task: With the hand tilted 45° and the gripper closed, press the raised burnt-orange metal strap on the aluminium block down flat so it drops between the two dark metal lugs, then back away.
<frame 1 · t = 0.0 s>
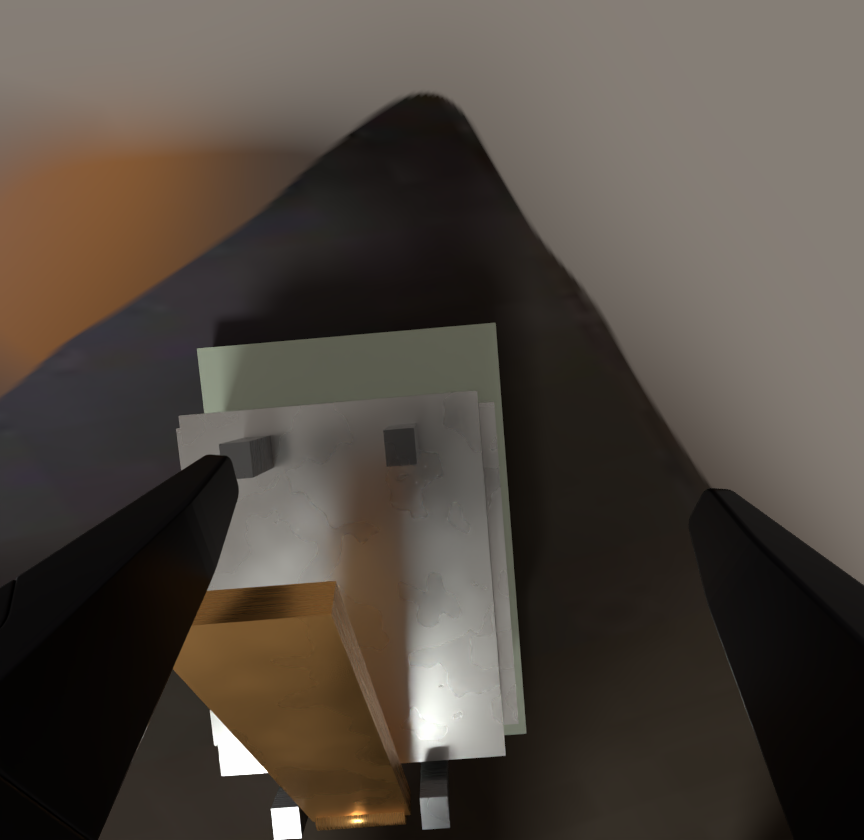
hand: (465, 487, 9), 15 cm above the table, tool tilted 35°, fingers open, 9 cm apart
strap: (323, 742, 14), point 11 cm above the table, hinge at 35.0°
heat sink: (354, 592, 20), on the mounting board, point 5 cm above the table
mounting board: (369, 535, 24), on the table
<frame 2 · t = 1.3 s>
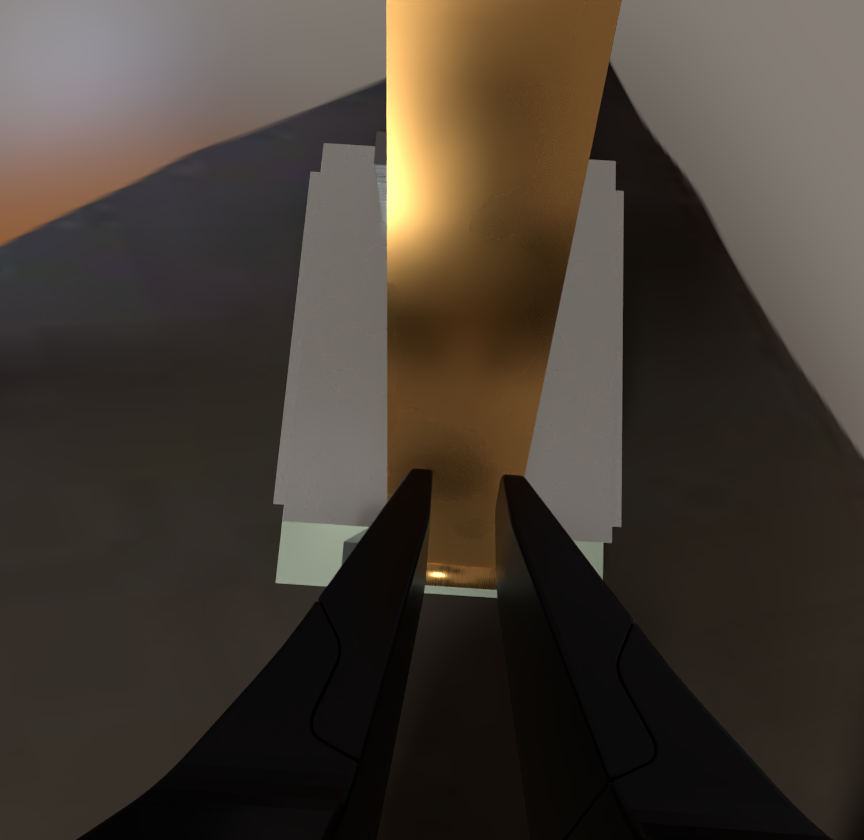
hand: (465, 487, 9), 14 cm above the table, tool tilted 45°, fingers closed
strap: (464, 380, 11), point 12 cm above the table, hinge at 41.9°
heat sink: (455, 363, 18), on the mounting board, point 5 cm above the table
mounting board: (451, 374, 23), on the table
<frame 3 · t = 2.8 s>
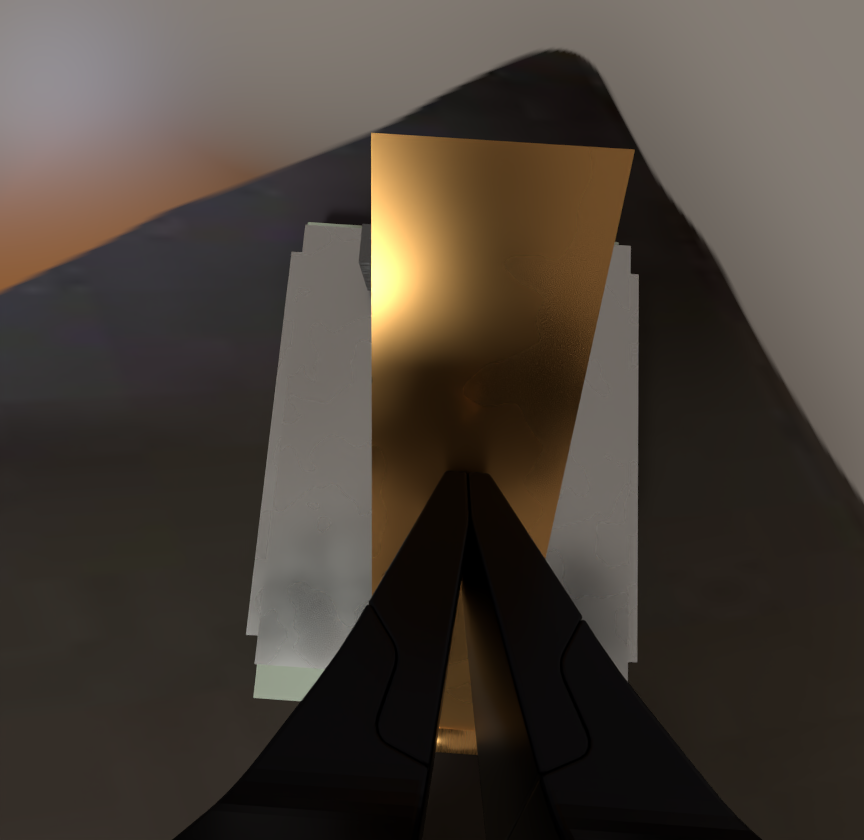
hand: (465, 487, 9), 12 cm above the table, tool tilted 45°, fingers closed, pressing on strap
strap: (458, 538, 10), point 11 cm above the table, hinge at 35.8°, touching gripper
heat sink: (451, 468, 17), on the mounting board, point 5 cm above the table
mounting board: (447, 456, 22), on the table
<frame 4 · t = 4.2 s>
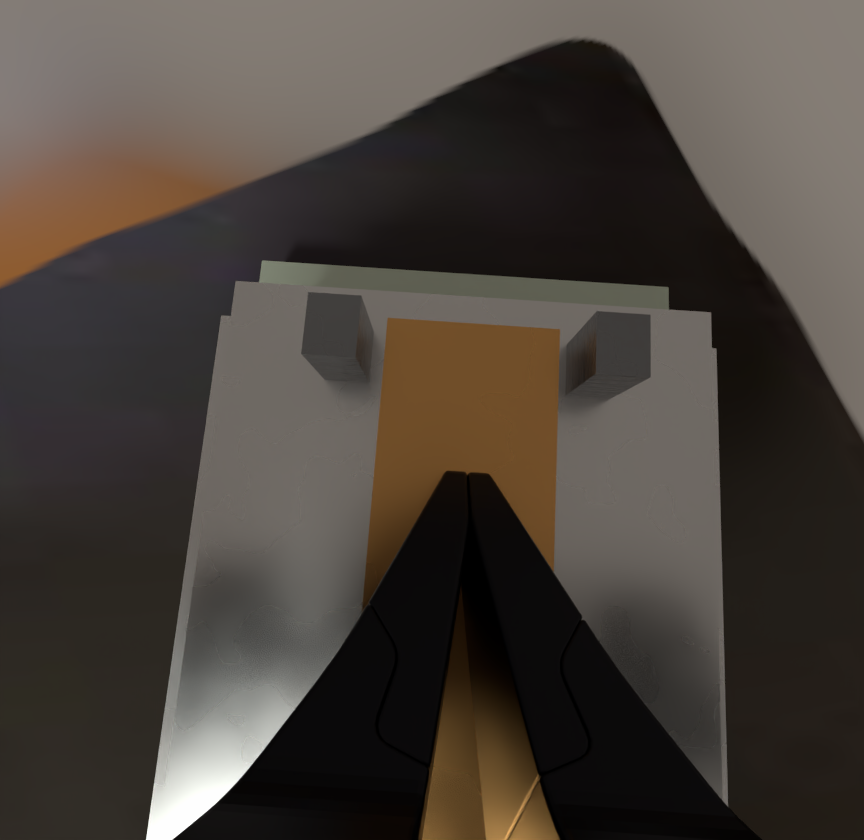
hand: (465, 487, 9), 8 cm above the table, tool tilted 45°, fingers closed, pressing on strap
strap: (451, 694, 9), point 7 cm above the table, hinge at -0.4°, touching gripper
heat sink: (448, 634, 11), on the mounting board, point 5 cm above the table
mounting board: (444, 567, 16), on the table
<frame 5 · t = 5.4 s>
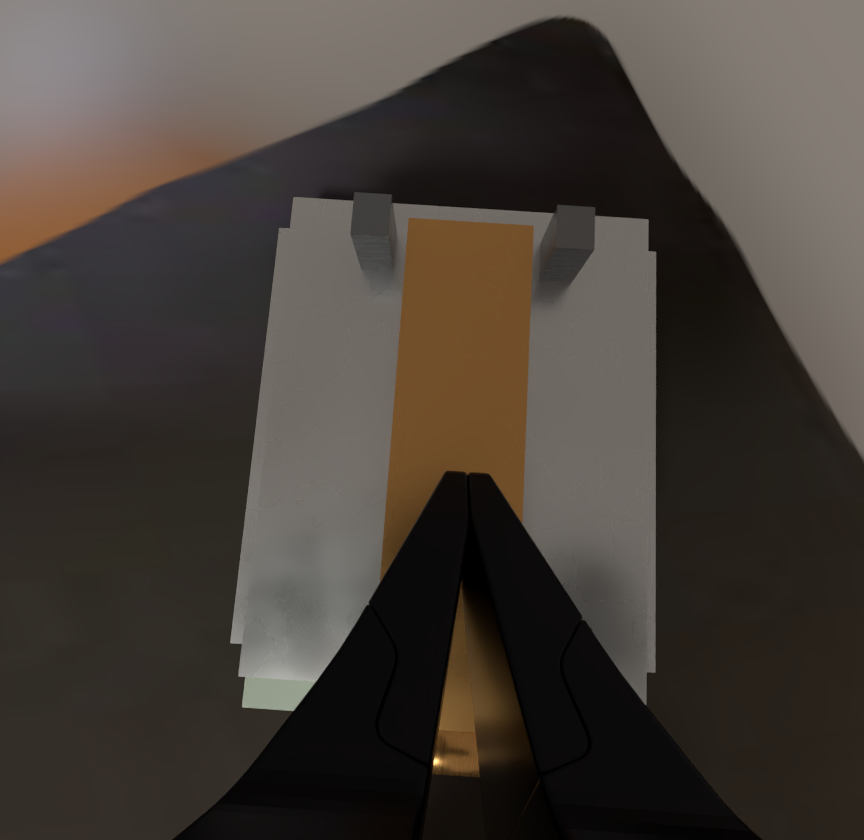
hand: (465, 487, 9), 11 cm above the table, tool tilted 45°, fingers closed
strap: (455, 477, 13), point 7 cm above the table, hinge at -0.5°
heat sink: (453, 462, 15), on the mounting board, point 5 cm above the table
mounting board: (448, 449, 20), on the table
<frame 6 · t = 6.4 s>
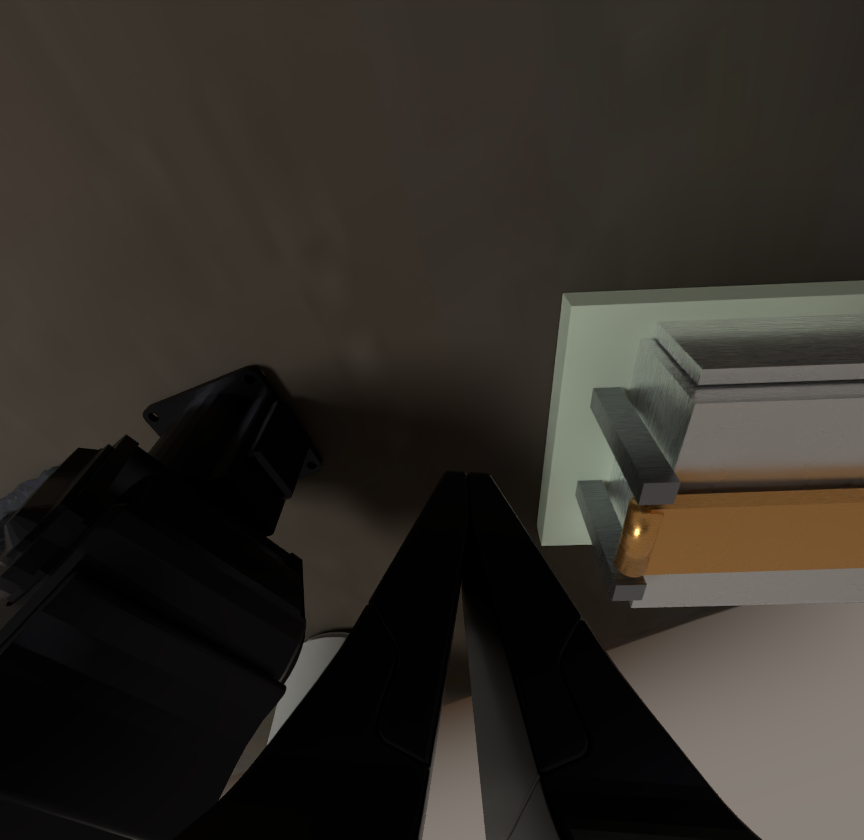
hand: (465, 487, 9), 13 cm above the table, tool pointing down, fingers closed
strap: (818, 531, 18), point 7 cm above the table, hinge at -0.5°
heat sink: (796, 491, 20), on the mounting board, point 5 cm above the table
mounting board: (750, 421, 24), on the table
can: (342, 651, 36), on the table
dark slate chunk: (65, 579, 32), on the table
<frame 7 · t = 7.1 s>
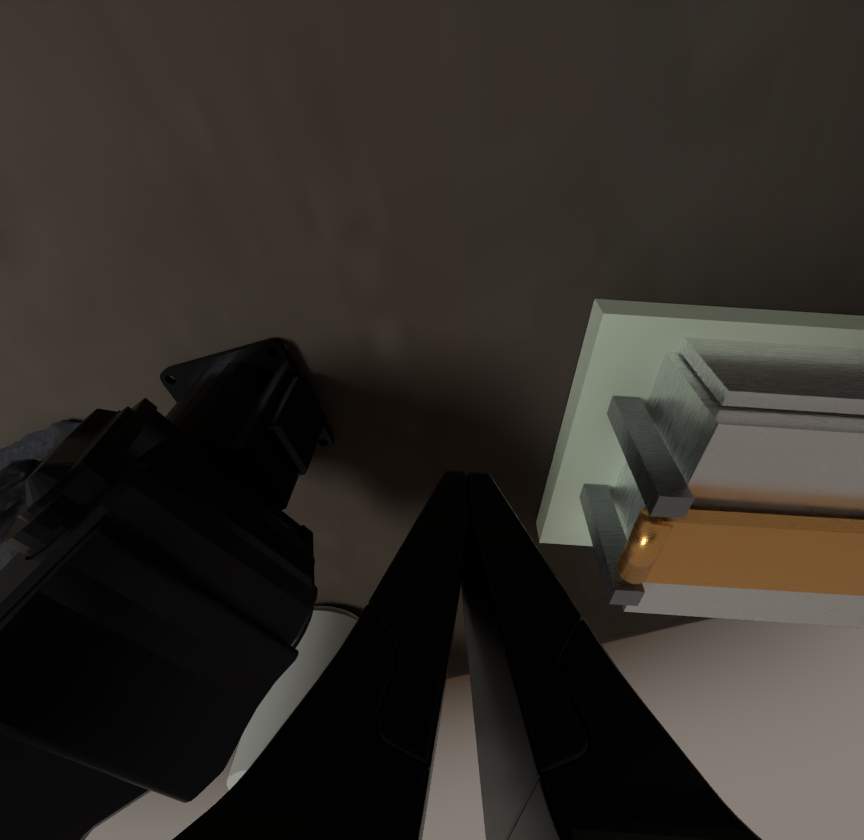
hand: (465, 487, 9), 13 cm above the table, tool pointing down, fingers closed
strap: (815, 556, 19), point 7 cm above the table, hinge at -0.5°
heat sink: (797, 515, 20), on the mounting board, point 5 cm above the table
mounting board: (757, 442, 24), on the table
can: (329, 625, 37), on the table
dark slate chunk: (61, 531, 32), on the table
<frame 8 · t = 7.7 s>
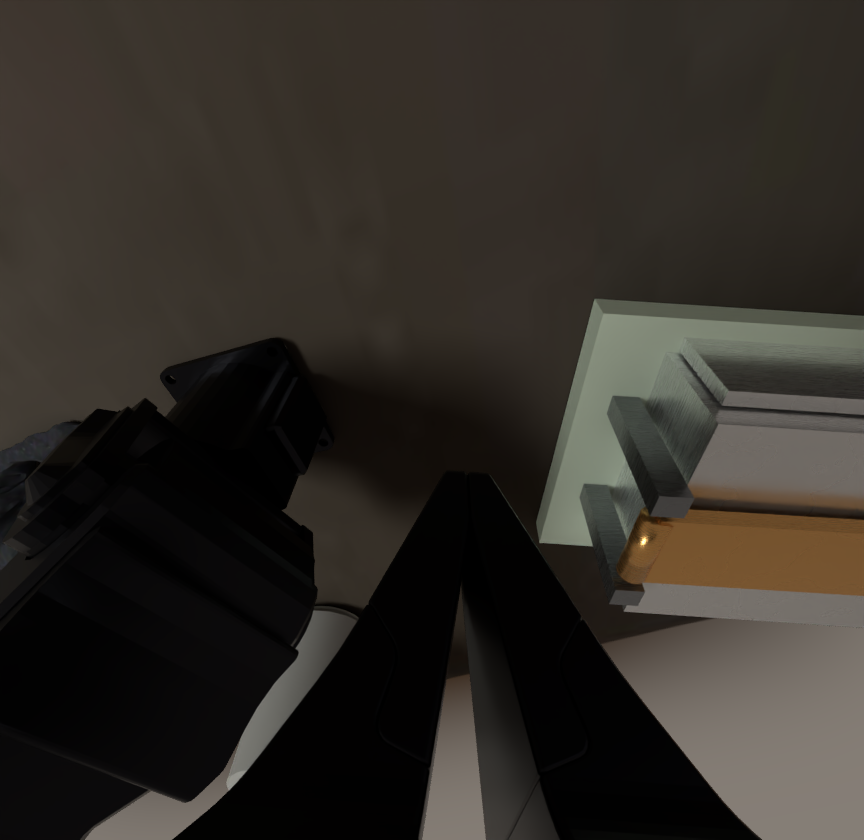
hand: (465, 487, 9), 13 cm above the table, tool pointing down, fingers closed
strap: (815, 556, 19), point 7 cm above the table, hinge at -0.5°
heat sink: (797, 515, 20), on the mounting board, point 5 cm above the table
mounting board: (757, 442, 24), on the table
can: (329, 625, 37), on the table
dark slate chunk: (62, 532, 32), on the table
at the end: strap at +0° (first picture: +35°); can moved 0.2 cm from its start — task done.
